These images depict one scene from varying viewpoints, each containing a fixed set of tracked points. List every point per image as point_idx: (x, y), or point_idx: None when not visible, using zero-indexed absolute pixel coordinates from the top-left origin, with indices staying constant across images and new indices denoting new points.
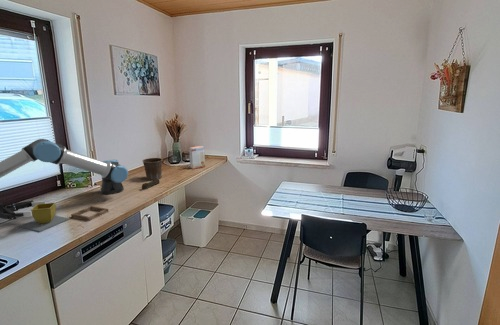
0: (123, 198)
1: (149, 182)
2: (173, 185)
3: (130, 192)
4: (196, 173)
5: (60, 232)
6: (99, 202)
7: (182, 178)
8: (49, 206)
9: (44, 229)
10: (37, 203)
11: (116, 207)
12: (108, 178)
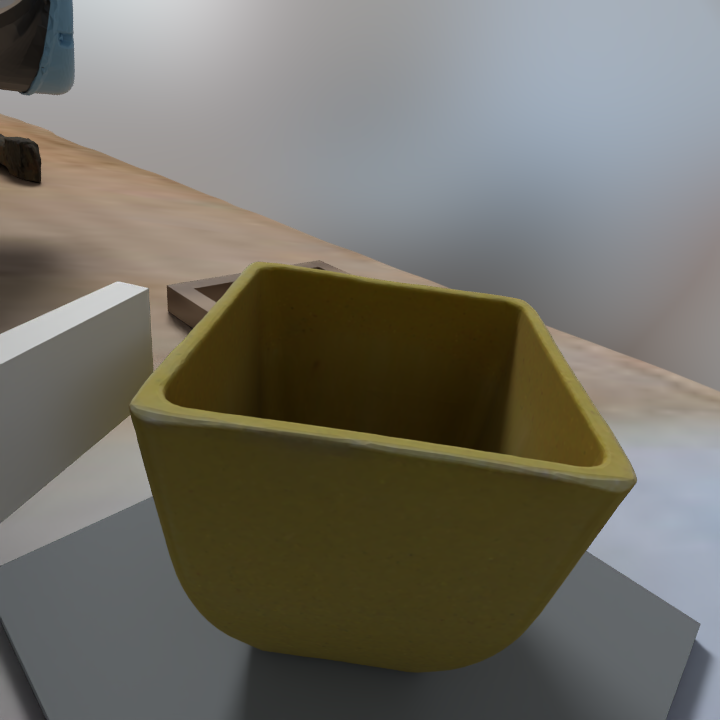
0: (105, 224)
1: (1, 138)
2: (100, 156)
3: (11, 198)
4: (11, 120)
5: (666, 468)
6: (45, 274)
7: (27, 135)
8: (240, 354)
9: (630, 584)
10: (18, 402)
11: (259, 258)
12: (7, 35)
